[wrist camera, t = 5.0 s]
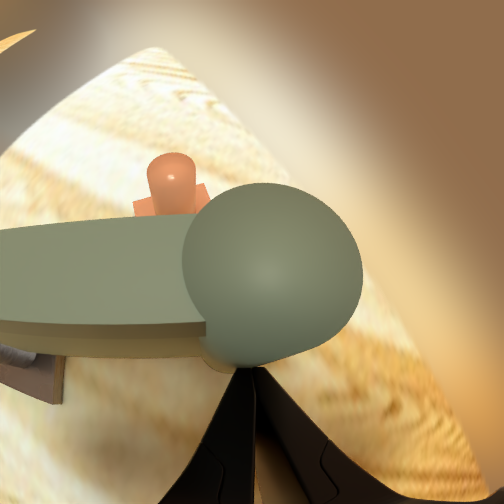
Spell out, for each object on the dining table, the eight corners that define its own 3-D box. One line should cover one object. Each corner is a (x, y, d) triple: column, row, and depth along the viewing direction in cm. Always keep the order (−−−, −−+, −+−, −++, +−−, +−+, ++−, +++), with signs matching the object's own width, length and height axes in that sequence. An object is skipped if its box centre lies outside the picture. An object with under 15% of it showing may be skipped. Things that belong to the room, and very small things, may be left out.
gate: (39, 370, 11) (-110, 321, 2) (39, 319, 12) (-91, 228, 3) (261, 369, 13) (380, 335, 4) (253, 314, 15) (337, 185, 5)
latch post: (226, 253, 18) (237, 196, 13) (151, 276, 16) (128, 225, 11) (203, 193, 20) (205, 129, 14) (135, 211, 18) (117, 149, 13)
